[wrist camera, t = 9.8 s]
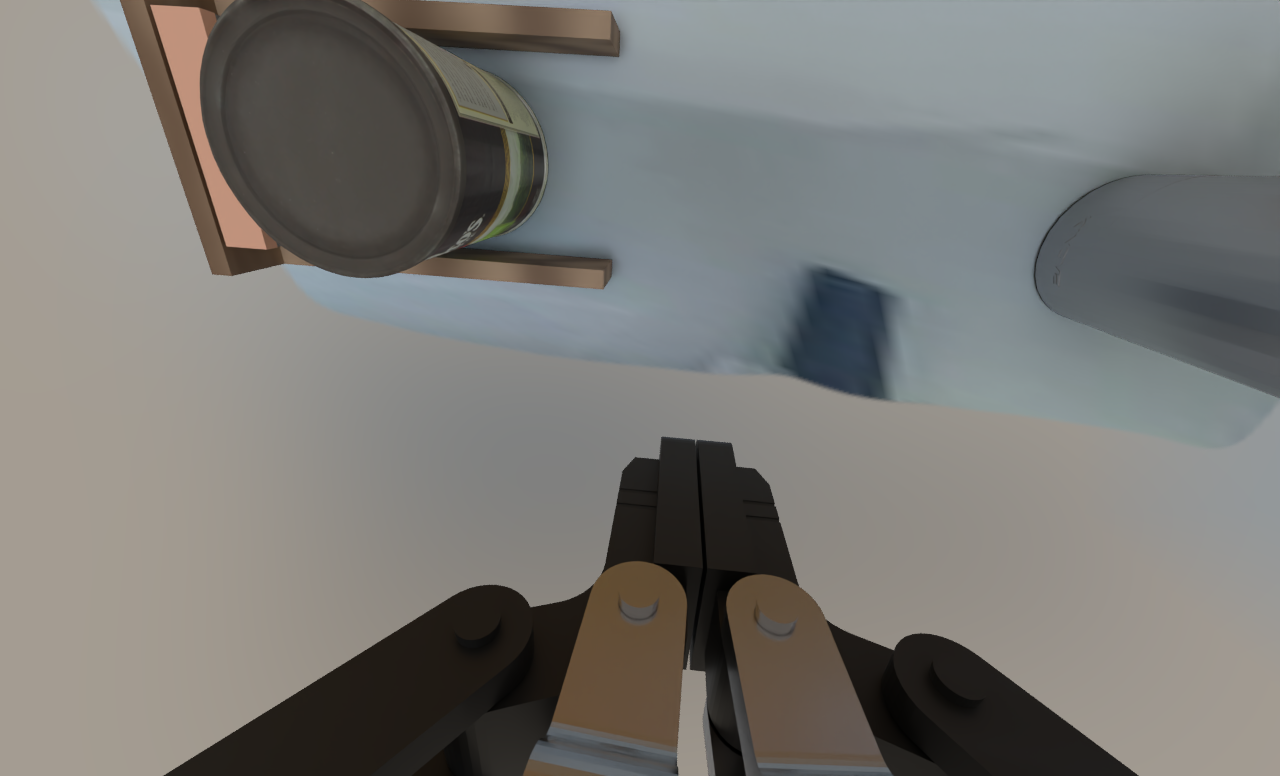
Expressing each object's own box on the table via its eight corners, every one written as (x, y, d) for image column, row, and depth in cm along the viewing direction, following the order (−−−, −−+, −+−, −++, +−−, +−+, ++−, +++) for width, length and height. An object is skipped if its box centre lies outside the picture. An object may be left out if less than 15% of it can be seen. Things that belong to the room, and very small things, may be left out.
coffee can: (568, 219, 32) (496, 250, 19) (435, 251, 34) (287, 299, 21) (520, 42, 28) (387, -66, 15) (371, 89, 29) (138, 27, 17)
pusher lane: (620, 32, 27) (598, -19, 20) (611, 276, 33) (592, 305, 26) (252, 11, 28) (105, -44, 21) (310, 252, 34) (212, 274, 27)
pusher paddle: (317, 48, 28) (199, 7, 21) (353, 233, 33) (266, 249, 26) (280, 45, 29) (150, 4, 22) (321, 230, 33) (226, 246, 26)
